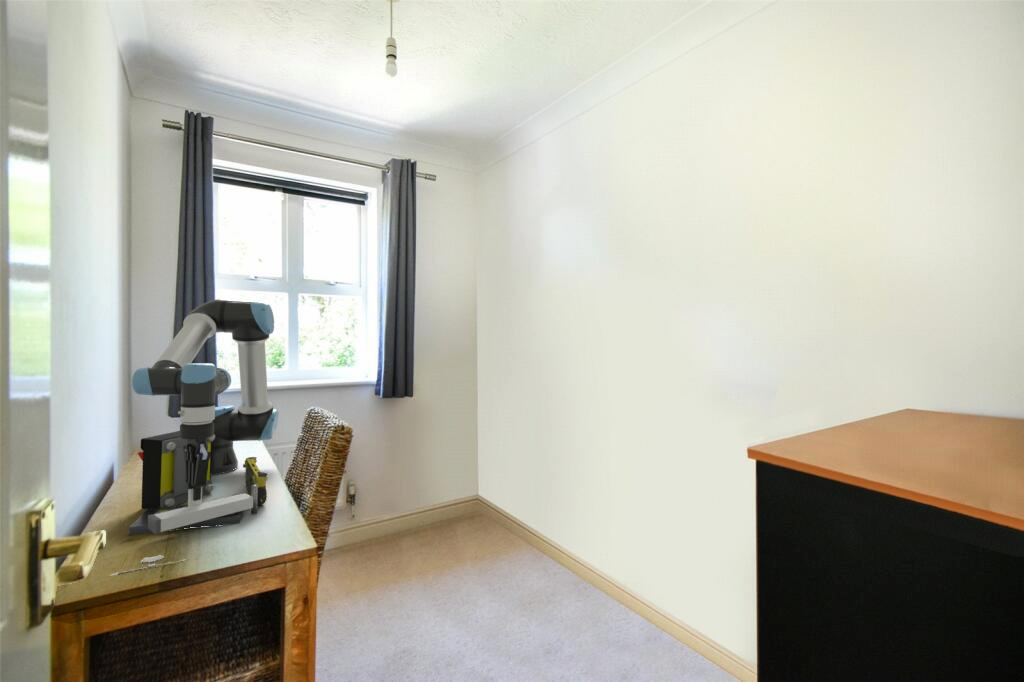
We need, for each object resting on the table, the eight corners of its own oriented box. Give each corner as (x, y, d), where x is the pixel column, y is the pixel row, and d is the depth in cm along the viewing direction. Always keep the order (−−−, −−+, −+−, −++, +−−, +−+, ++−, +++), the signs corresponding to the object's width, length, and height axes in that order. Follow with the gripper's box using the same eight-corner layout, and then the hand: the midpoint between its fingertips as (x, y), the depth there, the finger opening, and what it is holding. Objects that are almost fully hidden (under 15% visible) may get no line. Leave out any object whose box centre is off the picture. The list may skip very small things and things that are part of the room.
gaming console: (241, 486, 156) (242, 456, 156) (255, 484, 159) (256, 455, 159) (251, 510, 136) (252, 475, 136) (267, 507, 138) (268, 473, 138)
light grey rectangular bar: (244, 504, 133) (244, 492, 133) (253, 508, 130) (253, 496, 130) (147, 528, 115) (148, 515, 115) (155, 533, 112) (155, 520, 112)
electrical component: (165, 511, 132) (167, 440, 132) (135, 508, 134) (137, 438, 134) (216, 492, 149) (218, 429, 150) (189, 489, 152) (191, 427, 152)
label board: (148, 515, 129) (149, 486, 129) (260, 505, 139) (260, 478, 139) (128, 535, 116) (129, 502, 116) (253, 522, 126) (254, 492, 126)
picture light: (108, 578, 96) (108, 568, 96) (111, 570, 100) (111, 560, 100) (190, 561, 104) (191, 552, 105) (190, 554, 108) (190, 545, 108)
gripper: (172, 420, 125) (169, 509, 125) (189, 427, 116) (186, 522, 116) (204, 417, 130) (202, 502, 130) (222, 423, 122) (220, 514, 122)
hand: (194, 511), depth 123 cm, fingers closed
